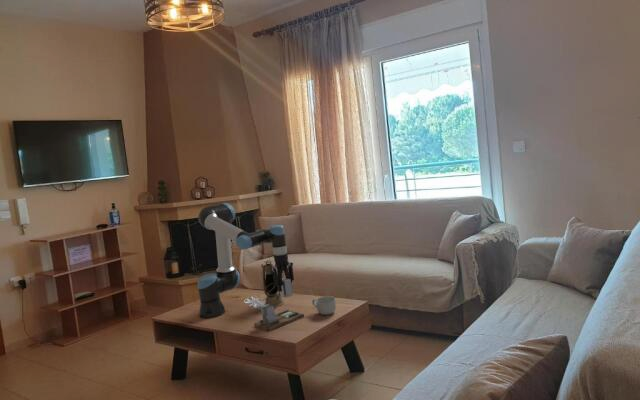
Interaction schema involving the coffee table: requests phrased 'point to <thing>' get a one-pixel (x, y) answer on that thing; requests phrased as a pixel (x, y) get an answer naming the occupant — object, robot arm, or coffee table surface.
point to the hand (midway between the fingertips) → (286, 295)
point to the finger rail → (276, 318)
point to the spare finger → (287, 287)
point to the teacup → (325, 305)
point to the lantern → (271, 286)
